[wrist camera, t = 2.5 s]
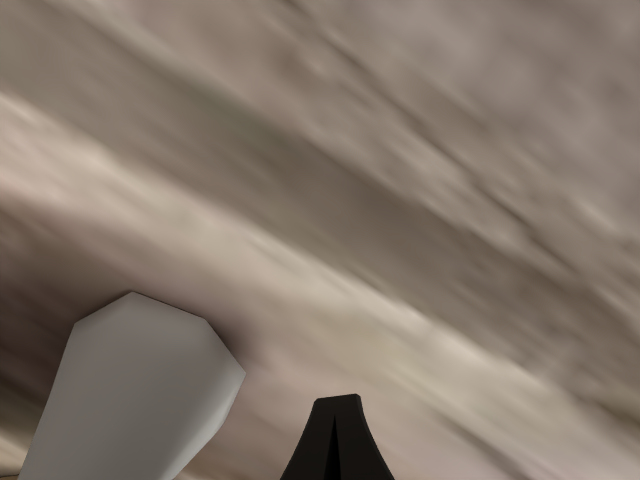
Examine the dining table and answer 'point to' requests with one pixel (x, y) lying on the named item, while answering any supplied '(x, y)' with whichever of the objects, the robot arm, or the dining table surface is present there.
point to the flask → (133, 395)
